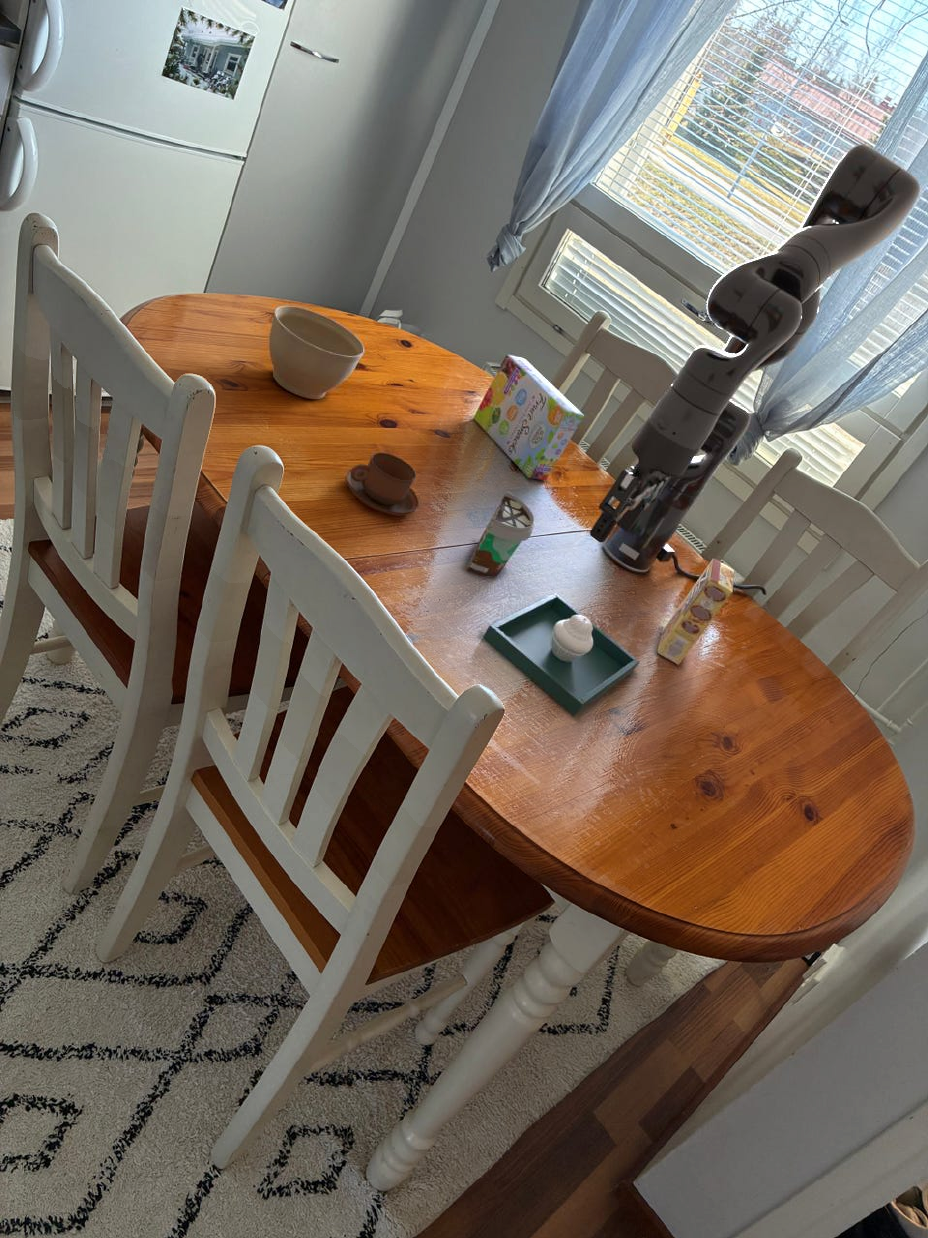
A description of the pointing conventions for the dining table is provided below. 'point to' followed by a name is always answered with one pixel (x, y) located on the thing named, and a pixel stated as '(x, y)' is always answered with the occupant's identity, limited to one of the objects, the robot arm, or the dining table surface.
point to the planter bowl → (311, 351)
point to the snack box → (527, 417)
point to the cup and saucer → (384, 484)
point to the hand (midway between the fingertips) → (609, 532)
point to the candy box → (696, 611)
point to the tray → (530, 652)
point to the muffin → (572, 638)
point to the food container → (502, 536)
